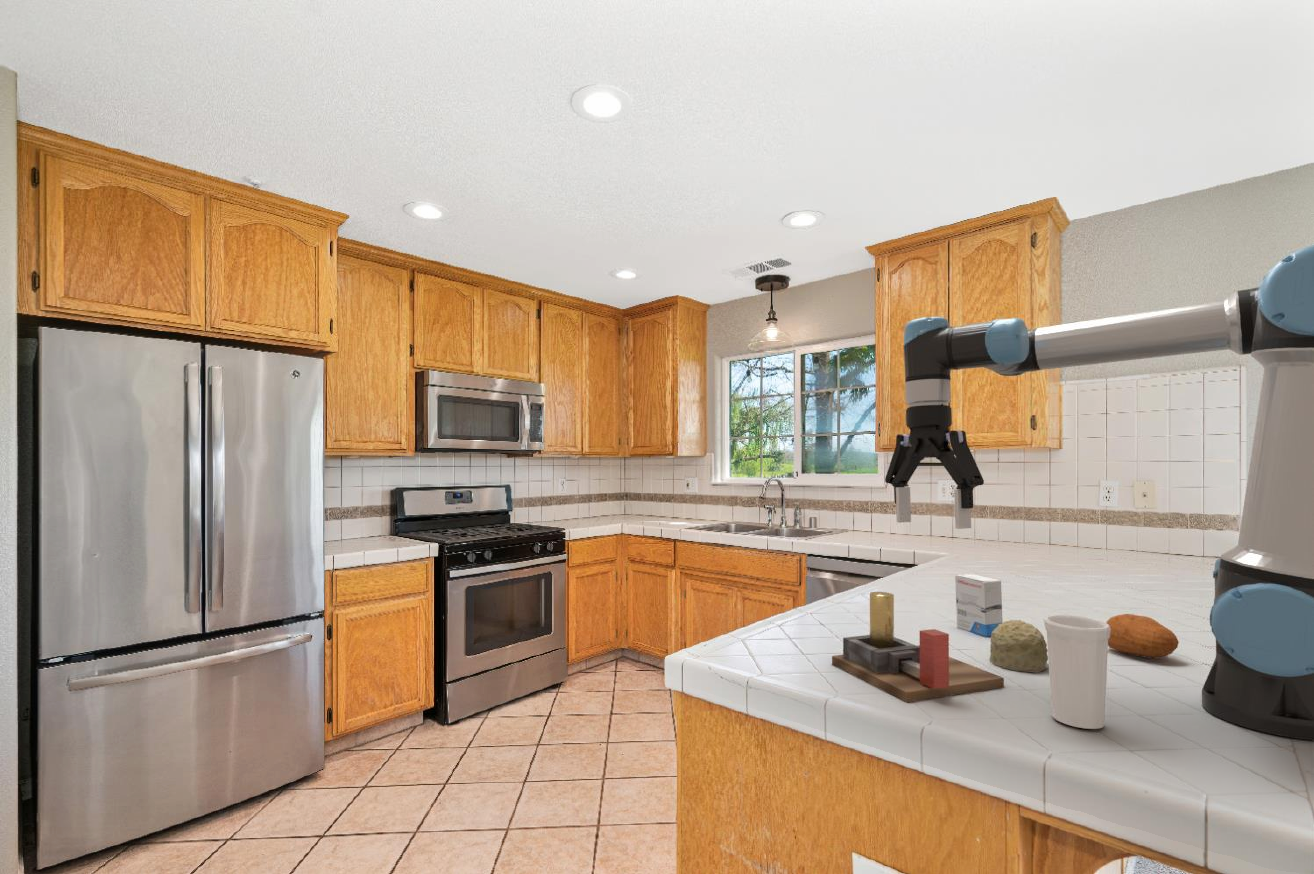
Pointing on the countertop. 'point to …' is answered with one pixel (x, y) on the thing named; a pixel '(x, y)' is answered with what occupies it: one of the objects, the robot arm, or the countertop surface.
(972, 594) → the ink box
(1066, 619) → the cup
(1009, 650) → the decorative object
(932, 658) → the pin
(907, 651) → the mount
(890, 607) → the upright brass rod
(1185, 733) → the countertop surface
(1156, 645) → the potato
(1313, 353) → the robot arm
